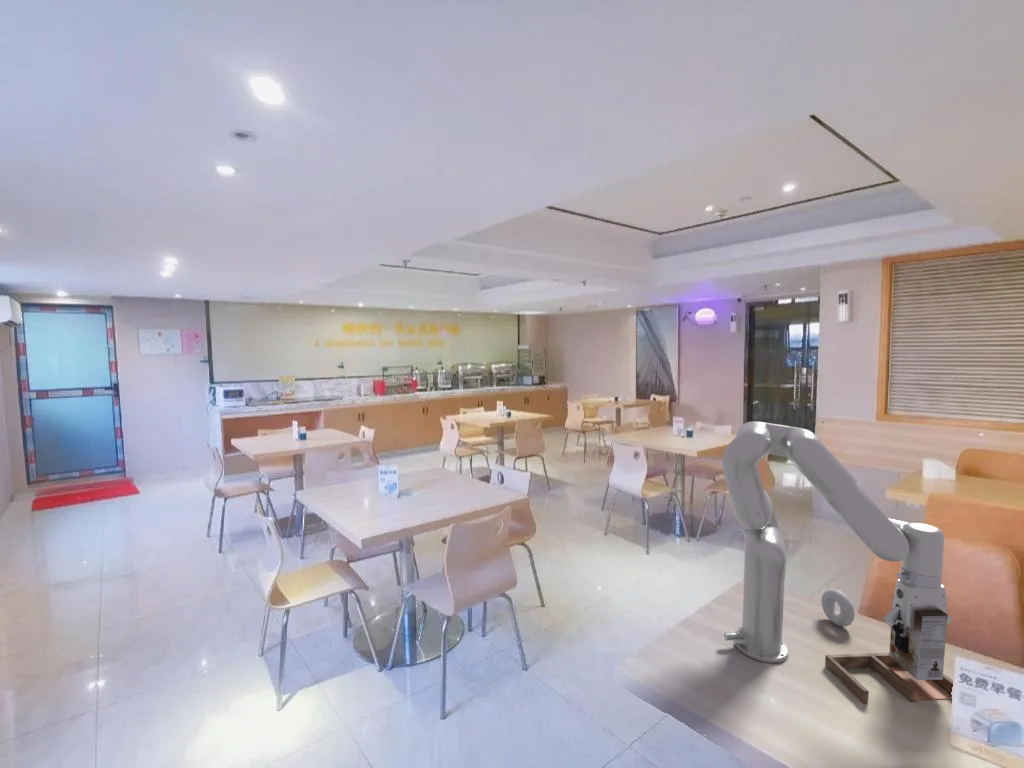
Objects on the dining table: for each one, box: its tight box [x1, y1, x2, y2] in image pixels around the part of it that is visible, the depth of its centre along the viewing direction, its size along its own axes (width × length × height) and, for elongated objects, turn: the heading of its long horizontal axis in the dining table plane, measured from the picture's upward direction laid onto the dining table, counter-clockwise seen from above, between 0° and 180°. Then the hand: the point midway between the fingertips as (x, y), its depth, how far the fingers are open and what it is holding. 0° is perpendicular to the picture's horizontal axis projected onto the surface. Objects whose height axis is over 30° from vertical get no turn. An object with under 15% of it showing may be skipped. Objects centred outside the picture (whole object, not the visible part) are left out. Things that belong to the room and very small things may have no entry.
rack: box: [824, 652, 954, 705], centre depth 119 cm, size 23×13×3 cm, turn 93°
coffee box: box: [888, 594, 949, 681], centre depth 118 cm, size 9×6×16 cm
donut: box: [820, 588, 856, 627], centre depth 143 cm, size 10×4×10 cm, turn 12°
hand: (916, 648), depth 118 cm, fingers closed on coffee box, 6 cm apart
